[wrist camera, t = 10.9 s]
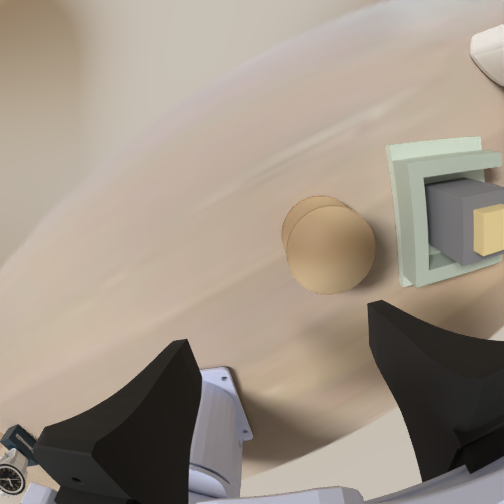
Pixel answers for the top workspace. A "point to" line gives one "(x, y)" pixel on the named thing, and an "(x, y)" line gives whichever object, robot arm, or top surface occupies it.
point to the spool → (327, 245)
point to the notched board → (414, 202)
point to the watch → (16, 461)
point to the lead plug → (465, 219)
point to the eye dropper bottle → (490, 53)
